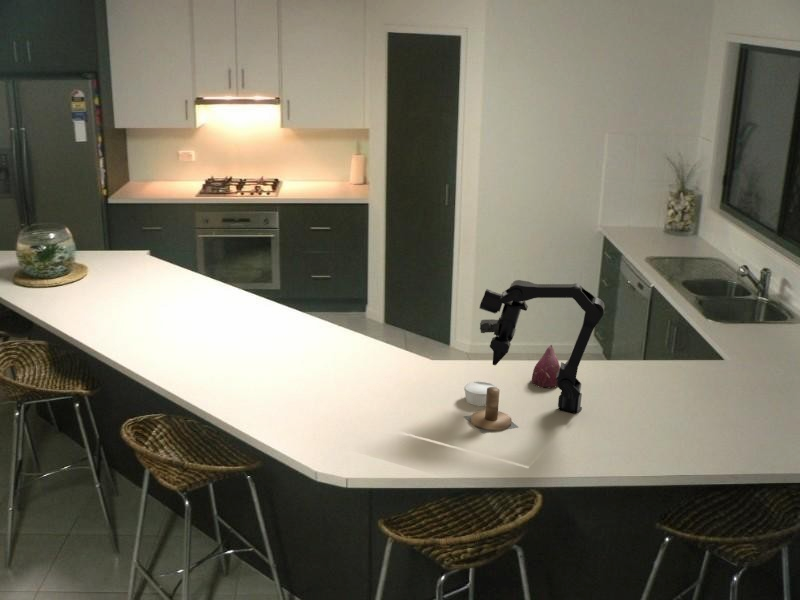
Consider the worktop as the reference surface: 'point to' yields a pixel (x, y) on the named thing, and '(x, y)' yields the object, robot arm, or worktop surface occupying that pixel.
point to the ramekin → (477, 392)
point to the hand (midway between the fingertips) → (495, 360)
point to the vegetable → (546, 369)
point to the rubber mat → (489, 430)
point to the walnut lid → (491, 414)
